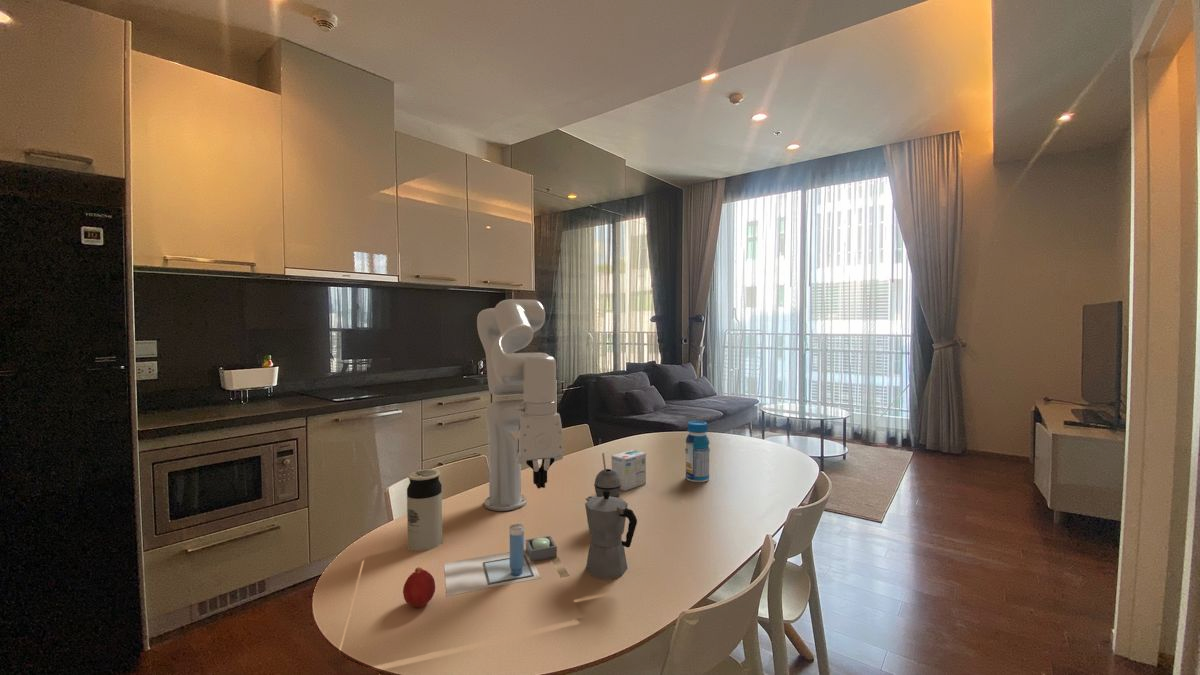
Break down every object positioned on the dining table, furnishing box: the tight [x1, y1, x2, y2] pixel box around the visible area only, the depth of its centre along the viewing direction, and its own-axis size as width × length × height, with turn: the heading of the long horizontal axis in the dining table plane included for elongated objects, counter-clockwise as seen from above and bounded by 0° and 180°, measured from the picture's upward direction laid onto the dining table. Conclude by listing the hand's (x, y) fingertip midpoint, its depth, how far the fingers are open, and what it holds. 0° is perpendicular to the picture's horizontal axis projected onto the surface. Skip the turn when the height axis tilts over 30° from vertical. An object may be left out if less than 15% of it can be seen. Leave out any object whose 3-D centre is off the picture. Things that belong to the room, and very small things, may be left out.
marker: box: [509, 523, 525, 576], centre depth 102 cm, size 3×3×10 cm
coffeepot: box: [584, 490, 638, 580], centre depth 103 cm, size 15×9×18 cm, turn 43°
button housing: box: [525, 535, 558, 563], centre depth 111 cm, size 6×6×3 cm
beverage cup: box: [593, 452, 621, 498], centre depth 127 cm, size 7×7×20 cm
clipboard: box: [443, 548, 570, 597], centre depth 104 cm, size 16×26×1 cm, turn 110°
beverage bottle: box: [684, 420, 711, 483], centre depth 166 cm, size 8×8×20 cm
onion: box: [402, 566, 436, 609], centre depth 91 cm, size 6×6×8 cm
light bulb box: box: [611, 449, 647, 492], centre depth 161 cm, size 11×7×11 cm, turn 132°
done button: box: [532, 537, 550, 549], centre depth 111 cm, size 4×4×2 cm
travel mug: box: [406, 468, 443, 552], centre depth 116 cm, size 8×8×18 cm
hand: (540, 486), depth 111 cm, fingers closed
